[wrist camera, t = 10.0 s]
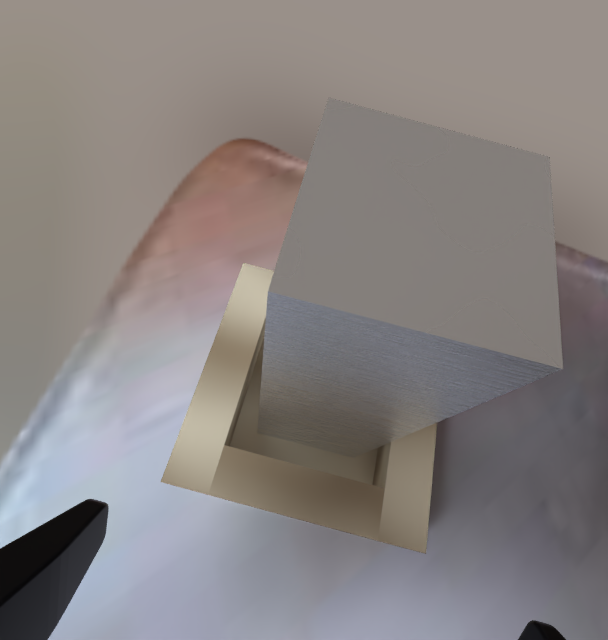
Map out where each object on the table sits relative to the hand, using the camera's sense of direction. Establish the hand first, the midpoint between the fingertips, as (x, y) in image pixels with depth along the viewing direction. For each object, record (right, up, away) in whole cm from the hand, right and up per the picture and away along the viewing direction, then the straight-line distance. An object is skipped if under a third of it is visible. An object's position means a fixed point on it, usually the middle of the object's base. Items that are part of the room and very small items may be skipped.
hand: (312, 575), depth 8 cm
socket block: (0, +1, +11) cm, 11 cm away
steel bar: (0, +2, +10) cm, 10 cm away
